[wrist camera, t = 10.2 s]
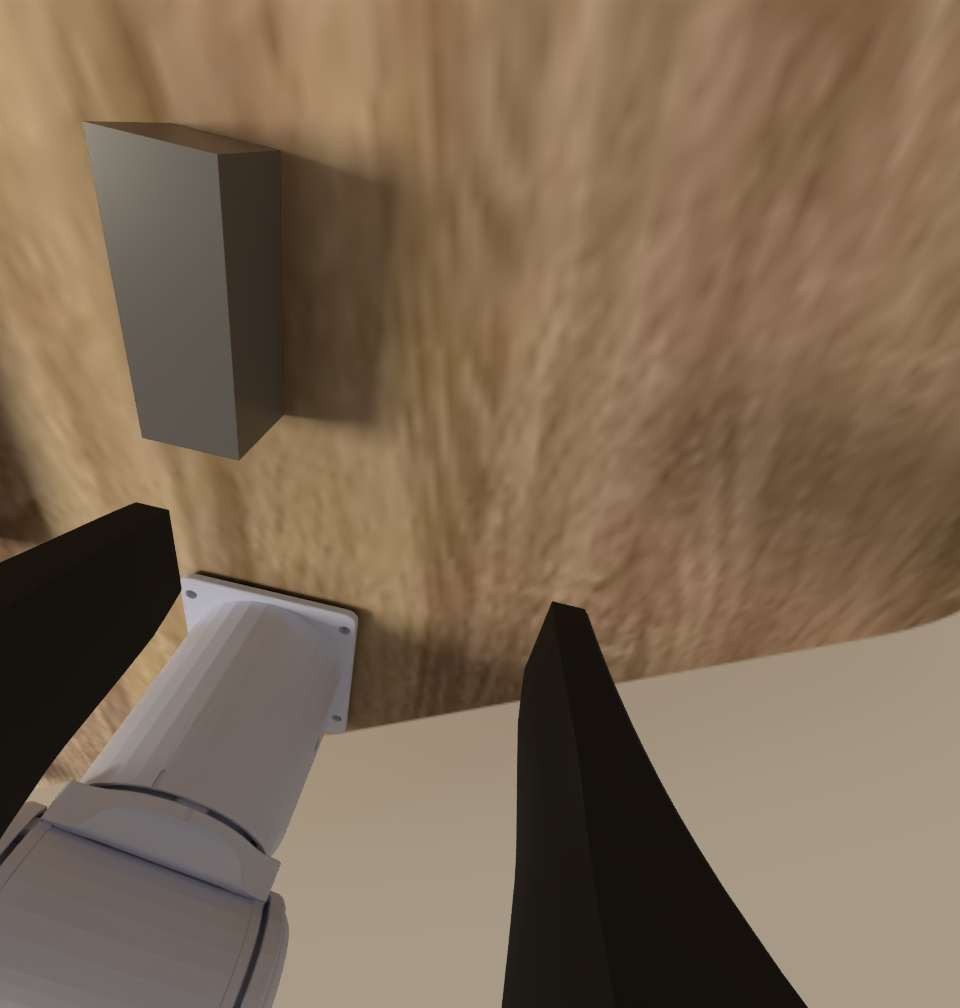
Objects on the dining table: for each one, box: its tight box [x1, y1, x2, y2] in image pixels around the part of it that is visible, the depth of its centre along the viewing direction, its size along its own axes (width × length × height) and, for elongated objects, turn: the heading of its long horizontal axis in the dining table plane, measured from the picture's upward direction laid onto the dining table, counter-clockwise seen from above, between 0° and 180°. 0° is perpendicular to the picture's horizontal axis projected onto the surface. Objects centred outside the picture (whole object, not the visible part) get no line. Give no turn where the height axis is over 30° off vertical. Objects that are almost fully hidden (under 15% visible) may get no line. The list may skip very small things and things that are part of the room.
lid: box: [83, 121, 283, 460], centre depth 16 cm, size 15×15×4 cm
